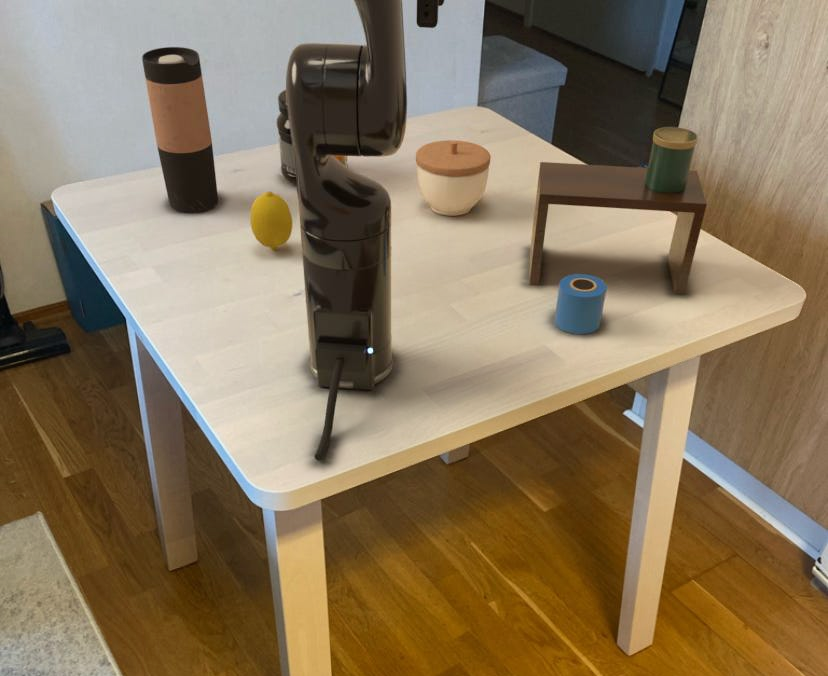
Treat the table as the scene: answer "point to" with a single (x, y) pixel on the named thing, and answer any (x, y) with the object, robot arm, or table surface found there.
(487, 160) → the trinket box
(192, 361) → the table surface
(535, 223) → the shelf
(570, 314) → the tape roll
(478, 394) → the table surface
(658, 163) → the tea tin
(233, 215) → the table surface
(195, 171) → the travel mug
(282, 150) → the supplement container
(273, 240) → the lemon
